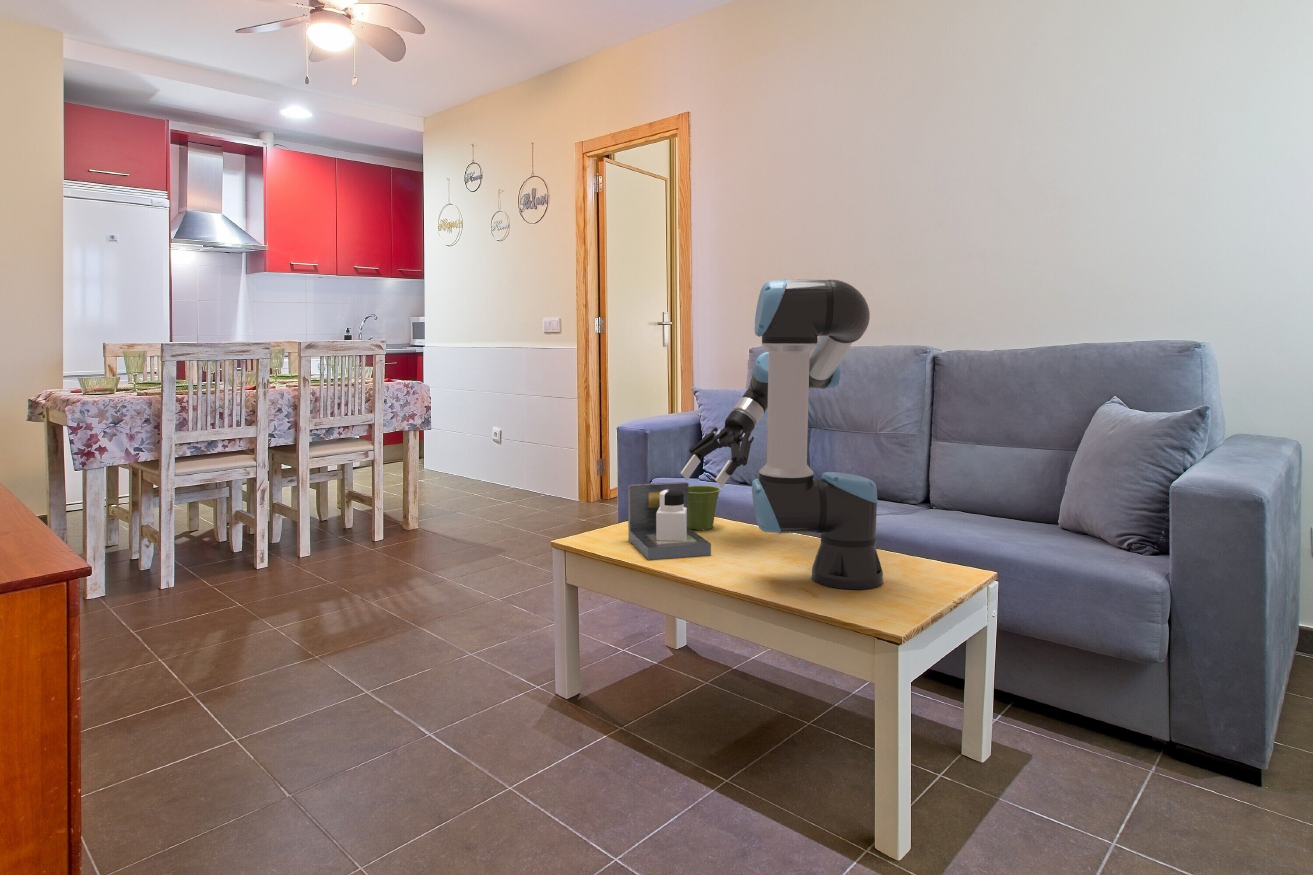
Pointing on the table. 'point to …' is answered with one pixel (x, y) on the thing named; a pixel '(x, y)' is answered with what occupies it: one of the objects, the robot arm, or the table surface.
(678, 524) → the medicine bottle
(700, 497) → the plant pot
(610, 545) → the table surface
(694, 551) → the bookend
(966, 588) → the table surface
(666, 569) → the table surface
